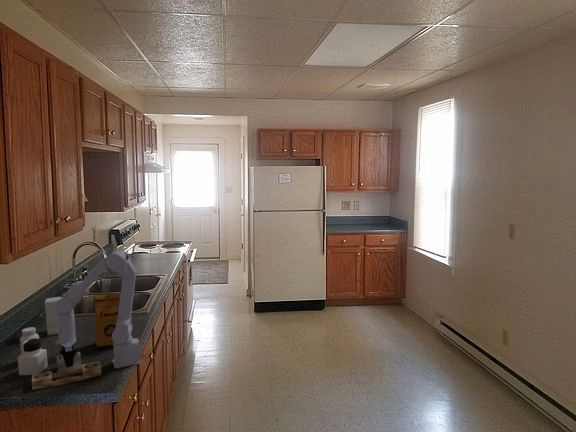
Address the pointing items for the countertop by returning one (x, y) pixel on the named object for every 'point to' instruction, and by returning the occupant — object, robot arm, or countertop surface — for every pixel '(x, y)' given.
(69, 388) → the countertop surface
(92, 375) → the wooden frame
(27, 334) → the supplement bottle
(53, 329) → the skincare box
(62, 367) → the white box with knobs
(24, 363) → the medicine bottle
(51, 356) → the countertop surface
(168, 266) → the countertop surface
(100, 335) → the coffee package
